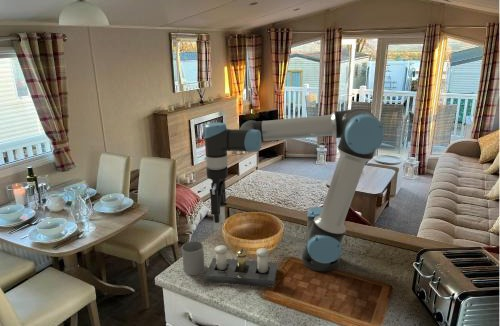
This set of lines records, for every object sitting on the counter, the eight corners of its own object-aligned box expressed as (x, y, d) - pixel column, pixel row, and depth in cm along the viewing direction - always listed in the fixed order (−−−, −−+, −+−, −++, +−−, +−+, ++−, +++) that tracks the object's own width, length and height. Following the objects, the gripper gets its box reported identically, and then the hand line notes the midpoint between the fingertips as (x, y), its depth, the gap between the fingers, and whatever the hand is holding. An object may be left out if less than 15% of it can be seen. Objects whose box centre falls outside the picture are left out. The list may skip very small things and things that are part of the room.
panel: (277, 269, 147) (277, 262, 146) (274, 287, 136) (274, 280, 135) (213, 264, 151) (213, 257, 150) (205, 282, 140) (205, 275, 139)
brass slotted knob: (248, 265, 144) (247, 248, 142) (246, 271, 140) (245, 254, 138) (238, 264, 145) (237, 247, 142) (235, 270, 141) (235, 253, 139)
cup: (200, 275, 144) (198, 253, 141) (180, 273, 145) (178, 251, 142) (207, 263, 152) (205, 242, 149) (188, 262, 153) (186, 240, 150)
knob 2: (269, 266, 143) (269, 248, 141) (268, 273, 139) (267, 254, 136) (257, 266, 144) (257, 247, 141) (255, 272, 139) (255, 254, 137)
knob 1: (228, 263, 146) (228, 245, 143) (226, 270, 141) (225, 251, 139) (217, 262, 146) (216, 244, 144) (214, 269, 142) (213, 251, 140)
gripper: (213, 158, 141) (216, 214, 148) (199, 174, 124) (203, 237, 130) (232, 159, 140) (234, 215, 147) (221, 175, 122) (224, 238, 129)
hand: (219, 225), depth 139 cm, fingers open, 5 cm apart
